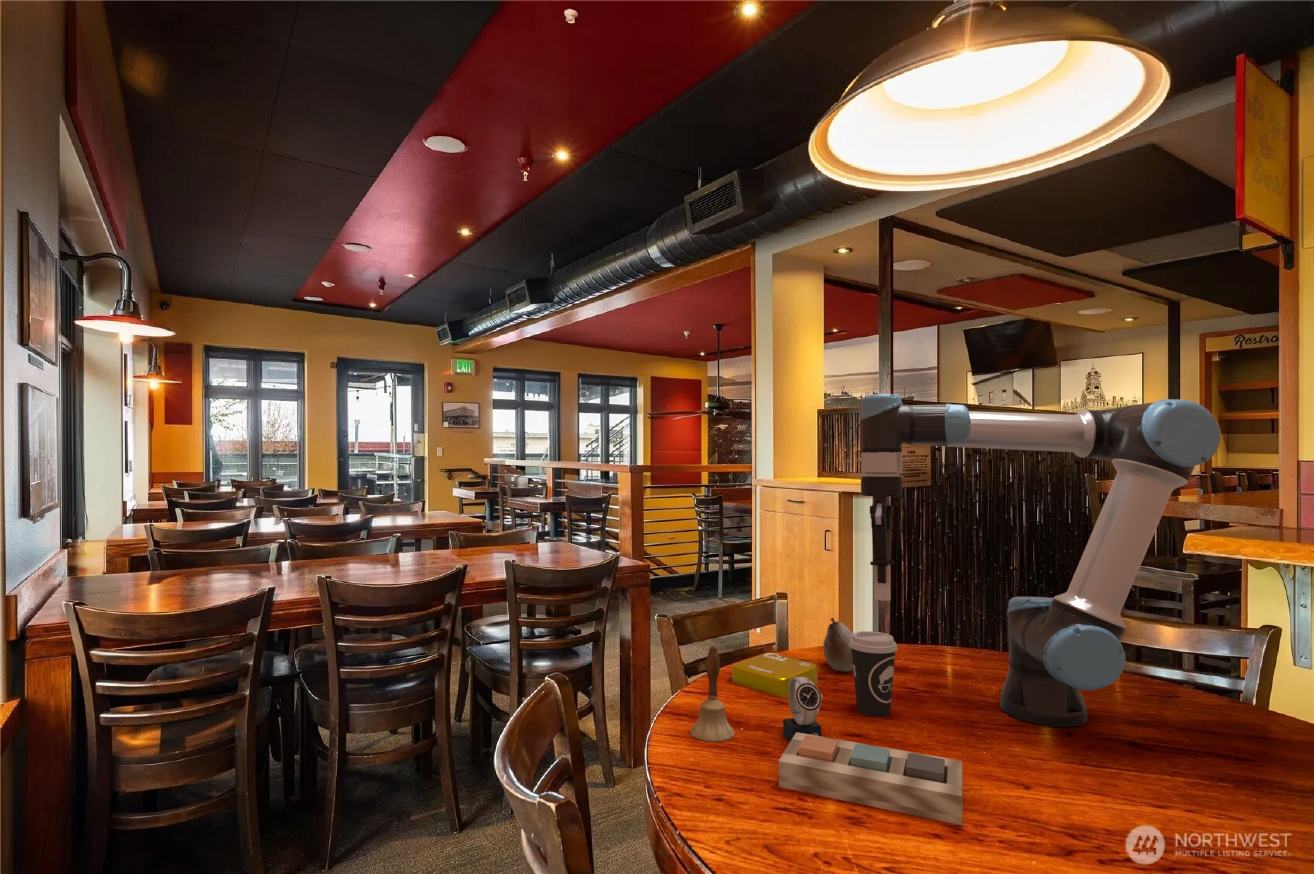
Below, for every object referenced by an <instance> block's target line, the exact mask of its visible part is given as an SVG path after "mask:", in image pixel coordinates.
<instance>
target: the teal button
mask: <svg viewBox="0 0 1314 874" xmlns="http://www.w3.org/2000/svg"><path fill="white" fill-rule="evenodd" d="M851 766H854V767H860V768H865V769H870V770H876V771H881V772H886V773H889V769H890V750H889V749H883V748H878V747H872V746H866V745H860V744H855V746H854V749H853V752H852V754H851Z"/></svg>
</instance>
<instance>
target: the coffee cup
mask: <svg viewBox="0 0 1314 874" xmlns="http://www.w3.org/2000/svg"><path fill="white" fill-rule="evenodd" d="M849 647H851V653H852V662H853V671H852V672H853V679H854V681H853V682H854V683H853V684H854V691H855V702H856V711H858V713H860V714H862V715H865V716H868V717H874V718H875V717H876V718H883V717H888V716H889V715H890V714H891V712H892V711H891V710H892V699H893V698H892V697H893V685H894V673H895V672H894V670H895V661H896V659H895V657H896V652H897V651H898V649H899V648H898V645H897V642H896V641H895V639H894V637H893V635H891V634H888V633H885V632H879V631H867V630H866V631H865V630H864V631H863V630H862V631H856V632H853V635H852V638H851V639H850V641H849Z"/></svg>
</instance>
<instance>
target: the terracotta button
mask: <svg viewBox="0 0 1314 874" xmlns="http://www.w3.org/2000/svg"><path fill="white" fill-rule="evenodd" d="M837 755H838V741H837V740H831V739H826V738H820V737H814V736H808V735H806V736H805V737H804V739H803V741H802V743H801V744H800V746H799V756H801V757H807V758H812V759H817V760H823V761H828V762H833V763H834V762H835V760H836V758H837Z"/></svg>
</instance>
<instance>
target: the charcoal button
mask: <svg viewBox="0 0 1314 874" xmlns="http://www.w3.org/2000/svg"><path fill="white" fill-rule="evenodd" d="M906 776H908V777H913V778H918V779H924V780H929V781H934V782H940V783H945V759H941V758H935V757H929V756H924V755H918V754H912V753H908V758H907V763H906Z"/></svg>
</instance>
